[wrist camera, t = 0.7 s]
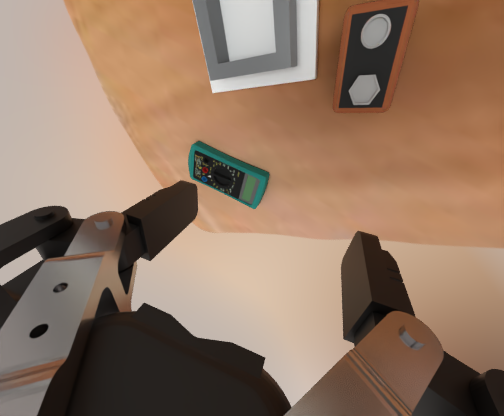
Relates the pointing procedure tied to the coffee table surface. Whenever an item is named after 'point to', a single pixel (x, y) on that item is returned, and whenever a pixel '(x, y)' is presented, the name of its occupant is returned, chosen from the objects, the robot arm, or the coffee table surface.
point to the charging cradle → (258, 41)
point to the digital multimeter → (227, 174)
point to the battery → (372, 54)
